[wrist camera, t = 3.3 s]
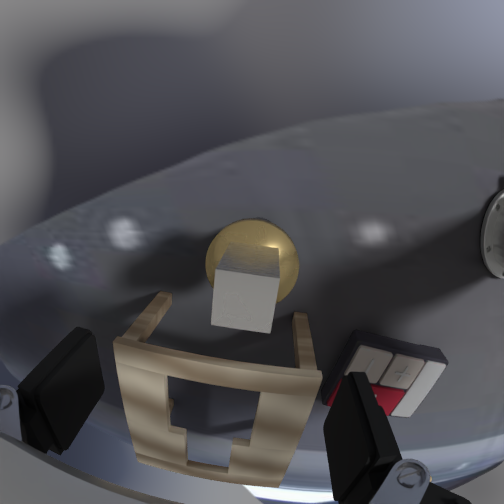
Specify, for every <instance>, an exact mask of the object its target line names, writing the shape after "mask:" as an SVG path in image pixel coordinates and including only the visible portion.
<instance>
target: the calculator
mask: <svg viewBox="0 0 504 504" xmlns="http://www.w3.org/2000/svg"><path fill="white" fill-rule="evenodd" d="M447 365H448V360H447V359H446V357H445V356H444V354H443V353H442V352H441V350H440V349H438V348H434V347H429V346H424V345H416V344H412V343H408V342H404V341H400V340H396V339H392V338H388V337H384V336H380V335H375V334H371V333H367V332H363V331H359V330H355V331H354V332H353V333H352V335H351V337H350V339H349V341H348V343H347V345H346V347H345V349H344V351H343V352H342V354H341V356H340V358H339V360H338V362H337V364H336V365H335V367H334V369H333V371H332V373H331V374H330V376H329V378H328V380H327V382H326V383H325V385H324V387H323V388H322V390H321V396H322V404H323V405H326V406H330V407H331V406H332V403H333V401H334V399H335V396H336V394H337V391H338V388H339V386H340V383H341V381H342V378H343V376H344V375H348V373H349V372H351V371H352V372H365V373H366V375H367V377H368V379H369V382H370V384H371V387H372V390H373V392H374V395H375V397H376V400H377V402H378V405H380V406H382V407H383V409H384V411H385V414H386V416H395V417H404V418H409V417H411V416H412V414H413V413H414V412H415V410H416V409H417V408H418V407H419V405H420V404H421V403H422V401H423V400H424V399H425V397H426V396H427V394H428V393H429V392H430V390H431V389H432V387H433V386H434V384H435V383H436V382H437V380H438V379H439V377H440V376H441V374H442V373H443V371H444V370H445V368H446V366H447Z"/></svg>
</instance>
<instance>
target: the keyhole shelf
mask: <svg viewBox="0 0 504 504" xmlns="http://www.w3.org/2000/svg"><path fill="white" fill-rule="evenodd" d="M171 305H172V293H168V292H163V291H160V292H159V293H158V294H157V295H156V297H155V298H154V299H153V300H152V301H151V302H150V304H149V305H148V306H147V307H146V308H145V310H144V311H143V312H142V313H141V314H140V315H139V317H138V318H137V319H136V320H135V321H134V323H133V324H132V325H131V326H130V328H129V329H128V330H127V331H126V332H125V334H124V335H123V336H122V337H119V336H117V337H116V338H115V340H114V341H113V348H114V355H115V362H116V368H117V374H118V379H119V385H120V390H121V395H122V400H123V405H124V410H125V414H126V418H127V423H128V427H129V431H130V435H131V439H132V442H133V446H134V450H135V453H136V457H137V460H138V462H140V463H143V464H147V465H150V466H153V467H157V468H161V469H165V470H169V471H172V472H176V473H181V474H185V475H190V476H194V477H199V478H205V479H210V480H216V481H222V482H229V483H235V484H243V485H252V486H262V487H275V488H279V485H280V483H281V481H282V479H283V477H284V475H285V472H286V470H287V468H288V466H289V464H290V461H291V459H292V457H293V454H294V452H295V450H296V447H297V445H298V442H299V440H300V438H301V435H302V433H303V430H304V428H305V425H306V422H307V420H308V417H309V415H310V412H311V409H312V407H313V404H314V401H315V398H316V396H317V393H318V390H319V387H320V384H321V381H322V378H323V377H322V372H321V371H320V370H317V366H316V360H315V354H314V349H313V343H312V338H311V332H310V327H309V322H308V317H307V313H300V312H294V315H293V320H292V330H293V341H294V353H295V365H296V368H287V367H278V366H270V365H262V364H254V363H247V362H240V361H234V360H227V359H221V358H215V357H210V356H204V355H199V354H194V353H188V352H183V351H179V350H174V349H169V348H164V347H160V346H156V345H151V344H147V343H145V342H146V341H147V339H148V338H149V336H150V335H151V333H152V332H153V330H154V329H155V328H156V326H157V325H158V323H159V322H160V320H161V319H162V317H163V316H164V315H165V313H166V312H167V310H168V309H169V307H170V306H171ZM167 375H169V376H173V377H177V378H182V379H187V380H192V381H197V382H202V383H207V384H213V385H218V386H224V387H230V388H237V389H244V390H251V391H259V392H260V396H259V401H258V405H257V410H256V415H255V420H254V424H253V429H252V433H251V438H250V440H248V439H240V438H233V443H232V450H231V456H230V463H229V467H223V466H217V465H211V464H205V463H200V462H195V461H191V460H188V453H187V429H185V428H180V427H176V426H172V425H171V423H170V414H171V411H172V409H173V406H174V399H170V398H169V396H168V379H167Z"/></svg>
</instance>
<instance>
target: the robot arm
mask: <svg viewBox="0 0 504 504" xmlns="http://www.w3.org/2000/svg"><path fill="white" fill-rule="evenodd" d="M480 239H481V253H482V258H483V261H484V264H485V265H486V267H487V269H488V270H489V271H490V272H491V273H492V274H493V275H495V276H496V277H499V278H501V279H504V189H503V190H502V191H500V192H499V193H498V194H497V195H496V196H495V197H494V199H493V200H492V201H491V203H490V205H489V207H488V209H487V211H486V214H485V217H484V220H483V224H482V229H481V238H480ZM18 388H19V389H18V390H17V391H15V390H14V389H13V388H12V387H10V386H7V385H0V504H183V503H178V502H174V501H170V500H166V499H162V498H158V497H154V496H150V495H147V494H143V493H140V492H137V491H134V490H130V489H127V488H124V487H121V486H118V485H116V484H113V483H110V482H107V481H104V480H102V479H99V478H97V477H94V476H92V475H89V474H87V473H85V472H82V471H80V470H78V469H76V468H73V467H71V466H69V465H67V464H65V463H63V462H61V461H58V460H56V459H54V458H52V457H50V456H48V455H47V451H48V450H51V451H53V452H55V453H57V454H59V455H61V454H62V452H63V451H64V450H67V449H68V448H69V446H70V445H71V443H72V442H73V440H74V439H75V437H76V435H77V434H78V432H79V431H80V429H81V427H82V426H83V424H84V423H85V421H86V419H87V418H88V416H89V415H90V413H91V411H92V410H93V408H94V407H95V405H96V404H97V402H98V401H99V399H100V398H101V396H102V394H103V392H104V381H103V377H102V372H101V367H100V362H99V356H98V351H97V345H96V339H95V336H94V335H92V332H91V331H90V330H88V329H84V328H81V327H76V328H75V329H74V330H73V331H71V332H70V333H69V334H68V335H67V336H66V337H65V338H64V339H63V340H62V341H61V342H60V343H59V344H58V345H57V346H56V347H55V348H54V349H53V350H52V351H51V352H50V353H49V354H48V355H47V356H46V357H45V358H44V359H43V360H42V361H41V362H40V363H39V364H38V365H37V366H36V367H35V368H34V369H33V370H32V371H31V372H30V373H29V375H28V376H27V377H26V378H25V379H24V380H23V381H22V382H21V383H20V384H19V385H18ZM323 430H324V437H325V443H326V450H327V456H328V463H329V470H330V477H331V484H332V491H333V498H334V500H335V501H338V503H339V504H471V503H470V501H469V500H467V499H465V498H463V497H461V496H459V495H457V494H454V493H452V492H450V491H448V490H446V489H444V488H442V487H439V486H437V485H435V484H433V483H431V482H430V472H429V470H428V468H427V467H426V466H425V465H424V464H423V463H422V462H420V461H418V460H415V459H402V457H401V454H400V451H399V448H398V445H397V443H396V440H395V437H394V435H393V432H392V429H391V427H390V424H389V422H388V419H387V416H386V414H385V411H384V409H383V407H382V406H380V405H378V402H377V400H376V397H375V395H374V392H373V390H372V387H371V384H370V382H369V379H368V377H367V375H366V373H365V372H352V371H351V372H349V373H348V375H344V376H343V378H342V381H341V383H340V386H339V388H338V391H337V394H336V396H335V399H334V401H333V403H332V406H331V408H330V411H329V413H328V415H327V418H326V420H325V422H324V427H323Z"/></svg>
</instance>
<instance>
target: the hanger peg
mask: <svg viewBox="0 0 504 504" xmlns="http://www.w3.org/2000/svg"><path fill="white" fill-rule="evenodd" d="M205 267H206V273H207V277H208V280H209V282H210V284H211V286H212V288H213V289H214V292H213V304H212V317H211V325H216V326H222V327H229V328H235V329H242V330H248V331H255V332H263V333H270V332H271V327H272V321H273V316H274V310H275V304H276V303H278V302H280V301H281V300H283V299H284V298H285V297H286V296H287V295H288V294H289V293H290V291H291V290H292V288H293V287H294V285H295V283H296V280H297V277H298V272H299V260H298V255H297V251H296V248H295V246H294V243H293V241H292V240H291V238H290V237H289V236H288V235H287V233H286V232H285V231H284V230H282V229H281V228H280V227H278V226H277V225H275V224H273V223H271V222H270V221H269V220H267V219H264V218H249V219H242V220H238V221H235V222H233V223H231V224H229V225H228V226H226V227H225V228H223V229H222V230H221V231H220V232H219V233H218V234H217V236H216V237H215V238H214V239H213V241H212V242H211V244H210V246H209V248H208V251H207V255H206V263H205Z"/></svg>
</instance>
